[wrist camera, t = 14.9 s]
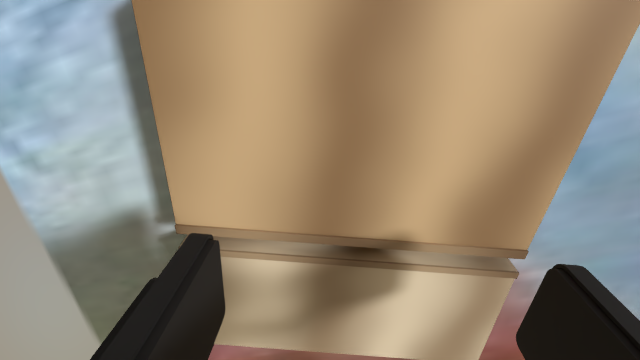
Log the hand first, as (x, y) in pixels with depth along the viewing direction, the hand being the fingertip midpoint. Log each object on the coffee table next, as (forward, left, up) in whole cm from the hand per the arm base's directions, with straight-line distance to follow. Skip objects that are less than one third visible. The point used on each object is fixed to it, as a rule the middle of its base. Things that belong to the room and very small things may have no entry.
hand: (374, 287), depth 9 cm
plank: (0, +1, -3) cm, 4 cm away
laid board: (0, +5, -5) cm, 7 cm away
